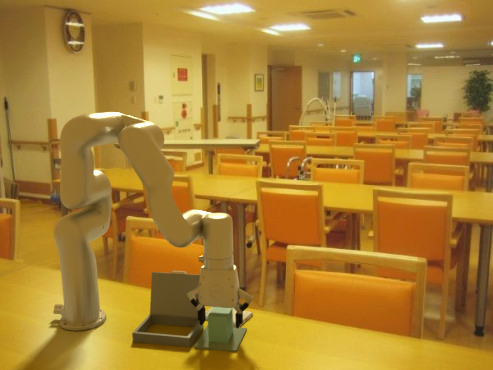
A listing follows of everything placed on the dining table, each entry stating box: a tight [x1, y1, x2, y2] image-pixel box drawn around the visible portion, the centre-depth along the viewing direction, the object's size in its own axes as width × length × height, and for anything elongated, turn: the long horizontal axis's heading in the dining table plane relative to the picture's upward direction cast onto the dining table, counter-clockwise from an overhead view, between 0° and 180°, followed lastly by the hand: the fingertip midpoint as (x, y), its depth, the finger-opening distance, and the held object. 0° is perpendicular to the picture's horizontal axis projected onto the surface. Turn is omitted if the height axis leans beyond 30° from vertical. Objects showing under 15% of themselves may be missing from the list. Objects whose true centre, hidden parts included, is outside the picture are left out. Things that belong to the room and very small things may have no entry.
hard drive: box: [205, 307, 254, 327], centre depth 146 cm, size 2×8×12 cm
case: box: [131, 313, 204, 348], centre depth 136 cm, size 16×12×2 cm
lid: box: [149, 270, 200, 318], centre depth 142 cm, size 16×12×2 cm
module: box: [207, 307, 234, 343], centre depth 133 cm, size 5×6×7 cm
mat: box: [193, 324, 248, 353], centre depth 133 cm, size 11×12×1 cm
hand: (220, 324), depth 133 cm, fingers open, 9 cm apart
